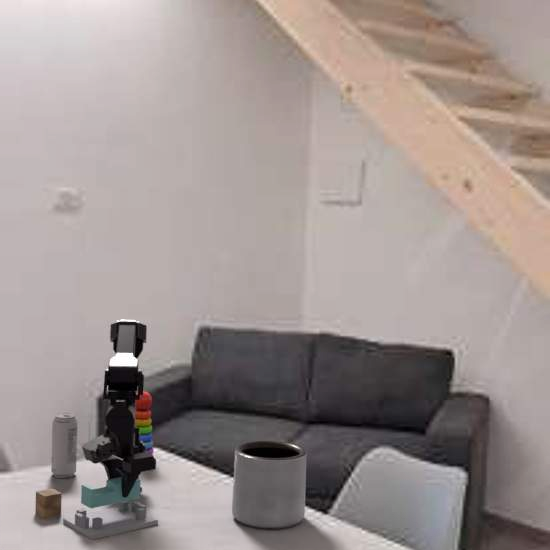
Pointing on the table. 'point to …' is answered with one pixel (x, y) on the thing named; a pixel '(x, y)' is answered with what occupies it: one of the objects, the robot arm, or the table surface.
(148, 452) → the stacking toy
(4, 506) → the table surface
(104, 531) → the jig
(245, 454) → the planter
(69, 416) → the energy drink can
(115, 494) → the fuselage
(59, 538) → the table surface
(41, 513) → the brown wooden cube
